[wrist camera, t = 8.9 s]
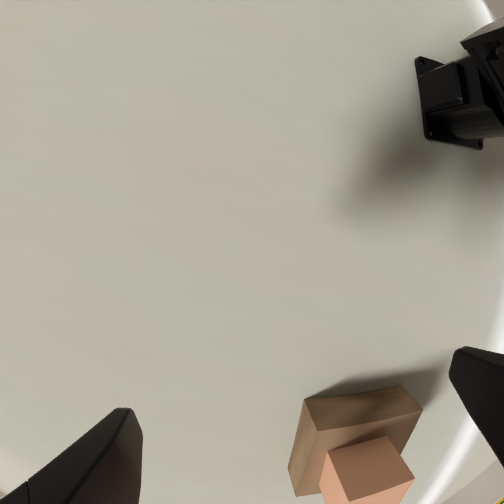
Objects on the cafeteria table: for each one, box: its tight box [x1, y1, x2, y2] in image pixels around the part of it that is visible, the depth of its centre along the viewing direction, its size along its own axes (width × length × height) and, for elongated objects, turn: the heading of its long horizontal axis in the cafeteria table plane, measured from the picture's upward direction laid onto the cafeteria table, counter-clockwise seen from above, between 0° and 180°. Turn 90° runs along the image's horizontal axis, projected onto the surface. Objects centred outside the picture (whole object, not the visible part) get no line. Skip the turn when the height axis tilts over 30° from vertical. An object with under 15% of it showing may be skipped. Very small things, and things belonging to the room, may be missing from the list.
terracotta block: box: [319, 436, 415, 504], centre depth 16 cm, size 5×5×5 cm
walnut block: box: [288, 386, 423, 497], centre depth 21 cm, size 9×9×4 cm
